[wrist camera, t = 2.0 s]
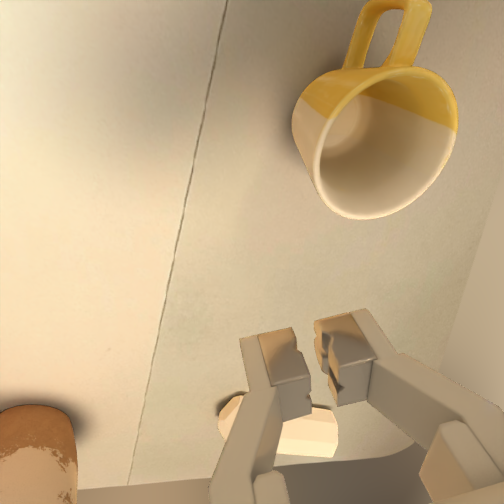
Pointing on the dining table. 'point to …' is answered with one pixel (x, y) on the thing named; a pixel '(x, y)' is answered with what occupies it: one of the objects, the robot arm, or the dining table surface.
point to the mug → (377, 121)
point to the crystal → (294, 431)
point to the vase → (37, 456)
